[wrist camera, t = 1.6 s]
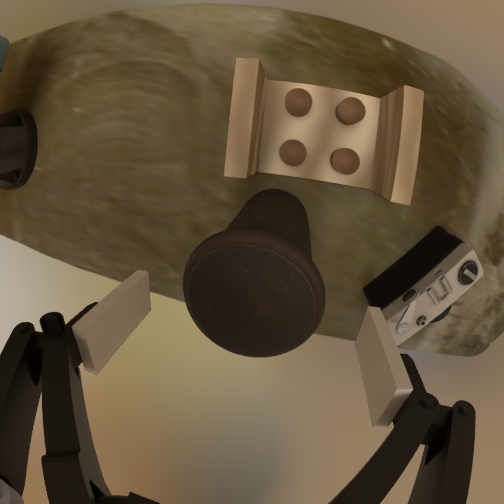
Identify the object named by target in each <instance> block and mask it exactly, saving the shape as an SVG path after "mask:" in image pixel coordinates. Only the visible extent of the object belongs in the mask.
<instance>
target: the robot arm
mask: <svg viewBox="0 0 504 504" xmlns="http://www.w3.org/2000/svg"><path fill="white" fill-rule="evenodd" d="M9 48H10V43H9V41H8V39H6V38H5V37H2V36H0V72H1V71H2V70H3V64H4V61H5V59H6V56H7V54H8V51H9ZM36 151H37V134H36V127H35V123H34V120H33V118H32V116H31V115H30V113H29V112H28V111H26V110H24V109H12V110H9V111H7V112H4V113H2V114H0V189H4V190H11V189H15V188H19V187H21V186H22V185H24V184H25V183H26V181H27V180H28V178H29V177H30V175H31V172H32V170H33V167H34V163H35V158H36ZM150 311H151V303H150V289H149V273H148V272H147V271H142V270H137V271H136V272H134V273H133V274H132V275H131V276H130V277H128V278H127V279H126V280H125V281H124V282H122V283H121V284H120V285H119V286H118V287H116V288H115V289H114V290H113V291H112V292H111V293H109V294H108V295H107V296H106V297H105V298H104V299H102V300H101V301H100V302H99V303H98V302H94V303H92V304H90V305H88V306H87V307H85V308H84V309H83V310H82V311H81V312H80V313H79V314H78V315H76V316H75V317H74V318H73V319H71V320H70V321H69V322H68V323H67V324H66V325H65V322H64V318H63V315H61V313H58V312H50V313H47V314H45V315H43V316H42V317H41V318H40V324H41V328H42V331H43V332H37V331H35V328H34V326H33V324H32V323H30V322H23V323H20V324H18V325H17V326H16V327H15V328H14V329H13V331H12V333H11V335H10V337H9V339H8V341H7V343H6V345H5V346H4V349H3V351H2V352H1V355H0V504H24V502H23V500H22V494H23V490H24V486H25V479H26V470H27V462H28V455H29V448H30V442H31V436H32V431H33V426H34V421H35V416H36V412H37V407H38V403H39V399H40V395H41V391H42V412H43V428H44V437H45V446H46V455H43V456H42V469H43V474H44V480H45V485H46V491H47V495H48V500H49V504H160V503H158V502H156V501H153V500H150V499H148V498H145V497H142V496H140V495H137V494H135V493H132V492H130V493H129V496H120V495H117V496H116V495H114V496H113V495H111V493H110V491H109V489H108V487H107V486H106V484H105V481H104V479H103V476H102V472H101V469H100V466H99V463H98V459H97V456H96V452H95V448H94V444H93V440H92V436H91V431H90V427H89V422H88V417H87V413H86V407H85V401H84V395H83V389H82V383H81V375H80V369H79V367H78V366H79V365H80V364H81V363H82V362H83V365H84V368H85V370H86V371H88V372H91V373H93V374H96V375H97V374H98V373H99V372H100V371H101V369H102V368H103V367H104V366H105V365H106V363H107V362H108V361H109V360H110V358H111V357H112V356H113V355H114V353H115V352H116V351H117V350H118V349H119V347H120V346H121V345H122V344H123V343H124V341H125V340H126V339H127V338H128V337H129V335H130V334H131V333H132V332H133V331H134V329H135V328H136V327H137V326H138V325H139V323H140V322H141V321H142V320H143V319H144V318H145V316H146V315H147V314H148V313H149V312H150ZM355 346H356V350H357V354H358V358H359V363H360V368H361V372H362V377H363V382H364V386H365V391H366V396H367V402H368V407H369V412H370V418H371V423H372V428H373V429H386V428H388V426H389V425H390V424H391V422H392V421H393V425H394V428H393V430H392V431H391V432H390V434H389V435H388V436H387V438H386V439H385V441H384V442H383V443H382V444H381V446H380V447H379V448H378V450H377V451H376V452H375V453H374V455H373V456H372V457H371V458H370V460H369V461H368V462H367V463H366V464H365V465H364V467H363V468H362V469H361V470H360V471H359V472H358V473H357V475H356V476H355V477H354V478H353V479H352V480H351V481H350V482H349V483H348V484H347V485H346V486H345V487H344V489H342V490H341V491H340V493H339V494H338V495H337V496H335V497H334V499H332V501H330V502H329V503H328V504H380V503H381V502H382V500H383V499H384V498H385V496H386V495H387V494H388V492H389V491H390V490H391V488H392V487H393V486H394V484H395V483H396V481H397V480H398V479H399V477H400V476H401V474H402V473H403V471H404V470H405V468H406V467H407V465H408V463H409V462H410V460H411V459H412V457H413V455H414V454H415V452H416V451H417V449H418V447H419V445H420V444H423V445H425V448H424V452H423V456H422V460H421V464H420V467H419V471H418V474H417V477H416V481H415V484H414V487H413V490H412V493H411V496H410V498H409V501H408V504H466V500H467V496H468V490H469V484H470V478H471V471H472V470H471V469H472V462H473V453H474V440H475V409H474V407H473V406H472V405H471V404H470V403H468V402H466V401H463V400H460V401H457V402H456V403H455V404H454V405H453V407H449V406H444V405H440V404H439V401H438V400H437V398H436V397H434V396H433V395H432V394H429V393H427V392H426V390H425V387H424V385H423V382H422V380H421V377H420V375H419V374H418V370H417V369H416V366H415V363H414V361H413V360H412V359H411V357H410V356H409V355H408V354H400V353H399V351H398V348H397V346H396V343H395V341H394V339H393V336H392V334H391V332H390V329H389V327H388V325H387V323H386V320H385V318H384V316H383V314H382V311H381V309H380V308H379V307H370V306H368V307H367V311H366V314H365V317H364V320H363V323H362V326H361V329H360V331H359V334H358V337H357V340H356V343H355Z"/></svg>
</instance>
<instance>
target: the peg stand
mask: <svg viewBox="0 0 504 504" xmlns="http://www.w3.org/2000/svg"><path fill="white" fill-rule="evenodd" d="M423 94H424V91H422V90H419V89H416V88H413V87H410V86H407V85H403V86H401V87H400V88H398V89H396V90H394V91H393V92H391V93H389V94H387V95H386V96H384V97H382V98H376V97H372V96H367V95H363V94H359V93H354V92H349V91H344V90H339V89H334V88H328V87H322V86H315V85H308V84H301V83H293V82H284V81H273V80H267V77H266V74H265V72H264V69H263V67H262V64H261V62H260V59H250V58H236V66H235V75H234V83H233V92H232V101H231V110H230V119H229V129H228V139H227V150H226V160H225V172H224V176H227V177H237V178H248V177H250V176H252V175H254V174H255V173H257V172H262V173H270V174H278V175H286V176H293V177H300V178H307V179H313V180H320V181H326V182H332V183H338V184H344V185H349V186H355V187H360V188H365V189H370V190H371V191H373V192H375V193H377V194H379V195H380V196H382V197H384V198H386V199H388V200H389V201H391V202H396V203H401V204H405V205H410V203H411V198H412V192H413V187H414V181H415V174H416V168H417V161H418V153H419V145H420V136H421V125H422V112H423Z"/></svg>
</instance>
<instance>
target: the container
mask: <svg viewBox="0 0 504 504" xmlns="http://www.w3.org/2000/svg"><path fill="white" fill-rule="evenodd" d="M183 292H184V297H185V302H186V306H187V309H188V311H189V313H190V316H191V317H192V319H193V321H194V322H195V324H196V325H197V327H198V328H199V329H200V330H201V332H202V333H203V334H204V335H205V336H206V337H208V338H209V339H210V340H211V341H212V342H214V343H215V344H217V345H218V346H220V347H222V348H223V349H226V350H227V351H230V352H232V353H235V354H239V355H243V356H248V357H271V356H277V355H281V354H283V353H287V352H289V351H291V350H293V349H295V348H297V347H298V346H300V345H301V344H303V343H304V342H305V341H306V340H307V339H308V338H309V337H310V336H311V335H312V334H313V333H314V331H315V330H316V329H317V327H318V325H319V323H320V321H321V318H322V316H323V312H324V308H325V288H324V284H323V280H322V278H321V275H320V273H319V271H318V269H317V267H316V266H315V264H314V263H313V261H312V255H311V244H310V235H309V226H308V219H307V215H306V212H305V209H304V207H303V205H302V204H301V203H300V201H299V200H298V199H297V198H296V197H295V196H293V195H292V194H290V193H288V192H286V191H283V190H278V189H269V190H264V191H261V192H259V193H257V194H256V195H254V196H253V197H252V198H251V199H250V200H249V201H248V202H247V203H246V204H245V206H244V207H243V208H242V210H241V211H240V212H239V213H238V215H237V216H236V217H235V219H234V220H233V221H232V222H231V224H230V225H229V226H228V227H227V229H226V230H225V231H222V232H219V233H217V234H214V235H212V236H210V237H209V238H207V239H205V240H204V241H203V242H202V243H201V244H200V245H199V246H198V247H197V248H196V249H195V250H194V252H193V253H192V255H191V256H190V258H189V260H188V262H187V265H186V268H185V272H184V278H183Z"/></svg>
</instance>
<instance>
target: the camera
mask: <svg viewBox="0 0 504 504" xmlns="http://www.w3.org/2000/svg"><path fill="white" fill-rule="evenodd" d="M482 275H483V269H482V267H481V265H480V262H479V260H478V258H477V256H476V253H475V251H474V250H473V249H471V248H470V247H469V246H467V245H466V244H465V243H464V242H463V241H462V240H460V239H459V238H457V237H456V236H455V235H454V234H452V233H451V232H449V231H448V230H445V229H443V228H441V227H440V226H437V227H436V228H435V229H434V230H433V231H431V232H430V233H429V234H428V235H427V236H426V237H425V238H424V239H423V240H421V241H420V242H419V243H418V244H417V245H416V246H415V247H413V248H412V249H411V250H410V251H409V252H408V253H406V254H405V255H404V256H403V257H402V258H401V259H399V260H398V261H397V262H396V263H395V264H393V265H392V266H391V267H390V268H388V269H387V270H386V271H385V272H384V273H382V274H381V275H380V276H379V277H377V278H376V279H375V280H374V281H372V282H371V283H370V284H368V285H367V286H366V287H365V288H363V290H364V293H365V295H366V297H367V300H368V302H369V305H370V307H379V308H380V309H381V311H382V314H383V316H384V318H385V320H386V323H387V325H388V327H389V329H390V332H391V334H392V336H393V339H394V341H395V343H396V346H398V345H399V344H401V343H402V342H404V341H405V340H406V339H408V338H409V337H411V336H412V335H413V334H415V333H416V332H418V331H419V330H420V329H422V328H423V327H424V326H426V325H427V324H428V323H434V322H437V321H440V320H441V319H443V318H444V317H445V316H446V315H447V314H448V313H449V311H450V309H451V305H452V303H453V302H454V301H456V300H457V299H458V298H459V297H460V296H461V295H462V294H463V293H465V292H466V291H467V290H468V289H469V288H470V287H471V286H472V285H473V284H474V283H475V282H476V281H477V280H478V279H480V278H481V277H482Z"/></svg>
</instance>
